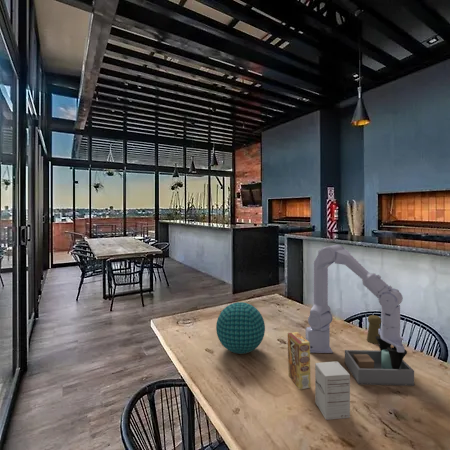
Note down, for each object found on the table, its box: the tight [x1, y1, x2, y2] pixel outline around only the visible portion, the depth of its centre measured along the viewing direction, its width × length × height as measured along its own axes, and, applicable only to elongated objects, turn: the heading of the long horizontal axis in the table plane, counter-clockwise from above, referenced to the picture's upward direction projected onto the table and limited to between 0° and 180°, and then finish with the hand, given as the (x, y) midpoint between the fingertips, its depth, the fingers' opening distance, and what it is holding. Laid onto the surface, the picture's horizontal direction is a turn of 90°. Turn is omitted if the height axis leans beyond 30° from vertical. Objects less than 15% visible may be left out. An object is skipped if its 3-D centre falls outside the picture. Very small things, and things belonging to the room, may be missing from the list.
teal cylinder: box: [381, 349, 393, 369], centre depth 102 cm, size 5×5×7 cm
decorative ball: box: [215, 301, 266, 355], centre depth 121 cm, size 20×20×20 cm
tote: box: [344, 349, 415, 387], centre depth 103 cm, size 18×14×5 cm
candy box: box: [287, 331, 312, 390], centre depth 99 cm, size 9×4×15 cm, turn 13°
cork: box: [366, 314, 381, 345], centre depth 128 cm, size 6×6×11 cm
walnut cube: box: [354, 354, 374, 369], centre depth 103 cm, size 5×5×5 cm
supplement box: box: [314, 361, 351, 420], centre depth 84 cm, size 7×7×13 cm
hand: (390, 362), depth 103 cm, fingers open, 7 cm apart
